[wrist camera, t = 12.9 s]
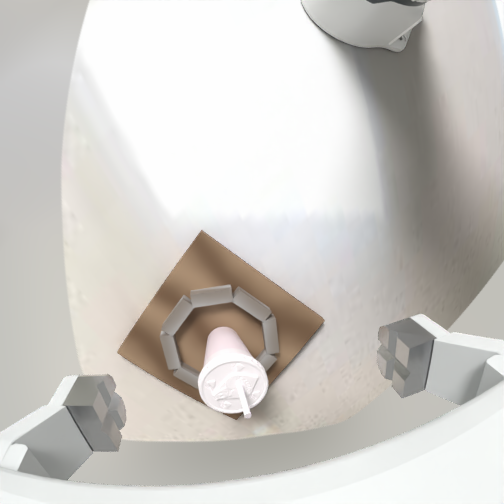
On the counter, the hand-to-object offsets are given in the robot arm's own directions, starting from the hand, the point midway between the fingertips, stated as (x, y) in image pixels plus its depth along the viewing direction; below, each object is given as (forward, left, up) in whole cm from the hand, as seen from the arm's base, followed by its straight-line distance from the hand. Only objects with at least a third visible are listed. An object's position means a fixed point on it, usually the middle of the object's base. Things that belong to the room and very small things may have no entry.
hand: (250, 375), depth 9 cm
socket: (+9, +7, -27) cm, 29 cm away
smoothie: (+9, +7, -26) cm, 28 cm away
